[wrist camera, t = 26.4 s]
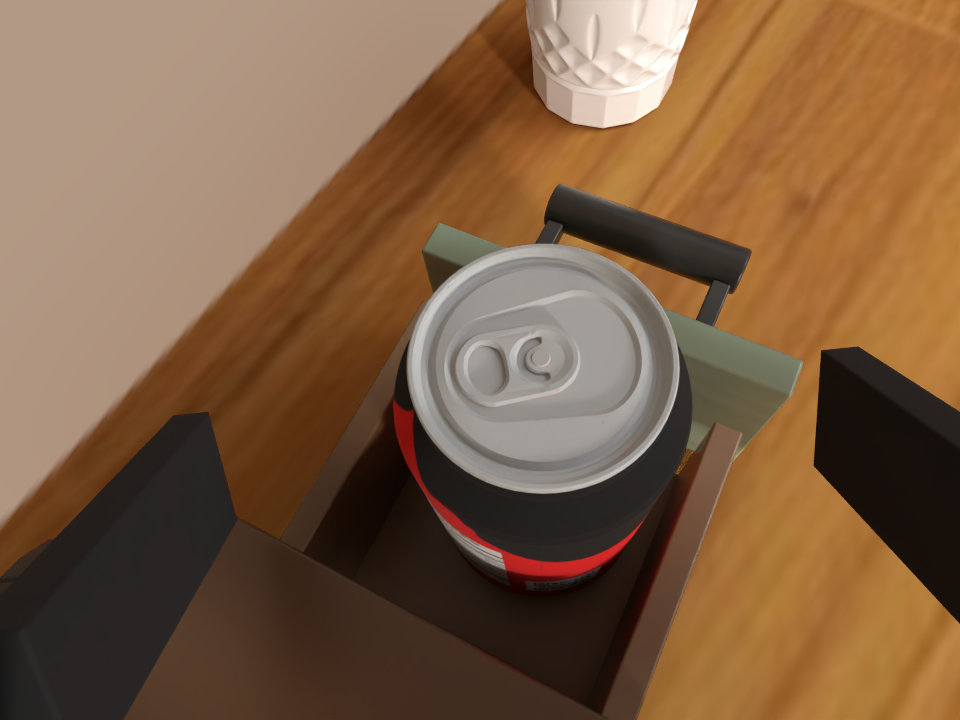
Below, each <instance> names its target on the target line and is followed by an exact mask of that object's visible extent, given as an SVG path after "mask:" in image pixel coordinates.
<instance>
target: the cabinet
mask: <svg viewBox="0 0 960 720" xmlns="http://www.w3.org/2000/svg"><path fill="white" fill-rule="evenodd" d="M236 518H237V522H236V524H235V525H234V527H233V529H232V531H231V532H230V534H229V536H228V538H227V539H226V541H225V543H224V545H223V546H222V548H221V550H220V552H219V553H218V555H217V557H216V559H215V560H214V562H213V564H212V566H211V567H210V569H209V571H208V573H207V574H206V576H205V578H204V580H203V581H202V583H201V585H200V587H199V588H198V590H197V592H196V594H195V595H194V597H193V599H192V601H191V602H190V604H189V606H188V608H187V609H186V611H185V613H184V615H183V616H182V618H181V620H180V622H179V623H178V625H177V627H176V629H175V630H174V632H173V634H172V636H171V637H170V639H169V641H168V643H167V644H166V646H165V648H164V650H163V651H162V653H161V655H160V657H159V658H158V660H157V662H156V664H155V665H154V667H153V669H152V671H151V672H150V674H149V676H148V678H147V679H146V681H145V683H144V685H143V687H142V688H141V690H140V692H139V694H138V695H137V697H136V699H135V701H134V702H133V704H132V706H131V708H130V709H129V711H128V713H127V715H126V716H125V718H124V720H610V719H608V718H607V717H605V716H603V715H601V714H599V713H597V712H596V711H594V710H592V709H590V708H588V707H586V706H585V705H583V704H581V703H579V702H577V701H575V700H573V699H572V698H570V697H568V696H566V695H564V694H562V693H561V692H559V691H557V690H555V689H553V688H551V687H550V686H548V685H546V684H544V683H542V682H540V681H539V680H537V679H535V678H533V677H531V676H529V675H528V674H526V673H524V672H522V671H520V670H518V669H516V668H515V667H513V666H511V665H509V664H507V663H505V662H504V661H502V660H500V659H498V658H496V657H494V656H493V655H491V654H489V653H487V652H485V651H483V650H482V649H480V648H478V647H476V646H474V645H472V644H471V643H469V642H467V641H465V640H463V639H461V638H459V637H458V636H456V635H454V634H452V633H450V632H448V631H447V630H445V629H443V628H441V627H439V626H437V625H436V624H434V623H432V622H430V621H428V620H426V619H425V618H423V617H421V616H419V615H417V614H415V613H413V612H412V611H410V610H408V609H406V608H404V607H402V606H401V605H399V604H397V603H395V602H393V601H391V600H390V599H388V598H386V597H384V596H382V595H380V594H379V593H377V592H375V591H373V590H371V589H369V588H368V587H366V586H364V585H362V584H360V583H358V582H356V581H355V580H353V579H351V578H349V577H347V576H345V575H344V574H342V573H340V572H338V571H336V570H334V569H333V568H331V567H329V566H327V565H325V564H323V563H322V562H320V561H318V560H316V559H314V558H312V557H311V556H309V555H307V554H305V553H303V552H301V551H299V550H298V549H296V548H294V547H292V546H290V545H288V544H287V543H285V542H283V541H281V540H279V539H277V538H276V537H274V536H272V535H270V534H268V533H266V532H265V531H263V530H261V529H259V528H257V527H255V526H253V525H252V524H250V523H248V522H246V521H244V520H242V519H241V518H239V517H237V516H236Z"/></svg>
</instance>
